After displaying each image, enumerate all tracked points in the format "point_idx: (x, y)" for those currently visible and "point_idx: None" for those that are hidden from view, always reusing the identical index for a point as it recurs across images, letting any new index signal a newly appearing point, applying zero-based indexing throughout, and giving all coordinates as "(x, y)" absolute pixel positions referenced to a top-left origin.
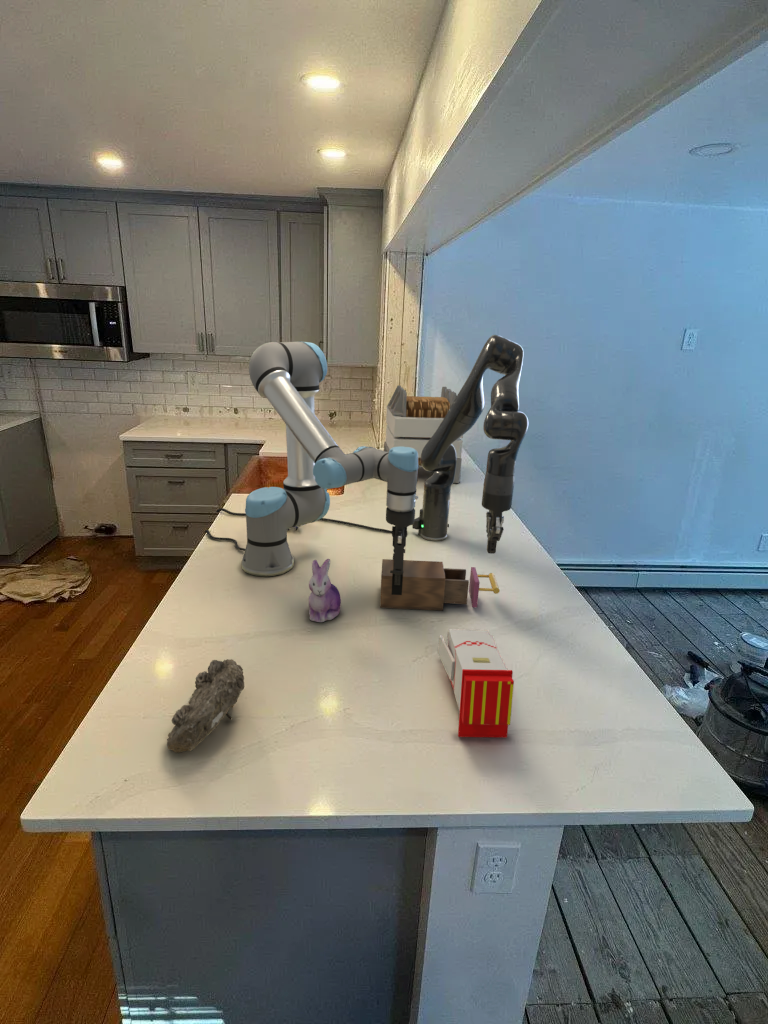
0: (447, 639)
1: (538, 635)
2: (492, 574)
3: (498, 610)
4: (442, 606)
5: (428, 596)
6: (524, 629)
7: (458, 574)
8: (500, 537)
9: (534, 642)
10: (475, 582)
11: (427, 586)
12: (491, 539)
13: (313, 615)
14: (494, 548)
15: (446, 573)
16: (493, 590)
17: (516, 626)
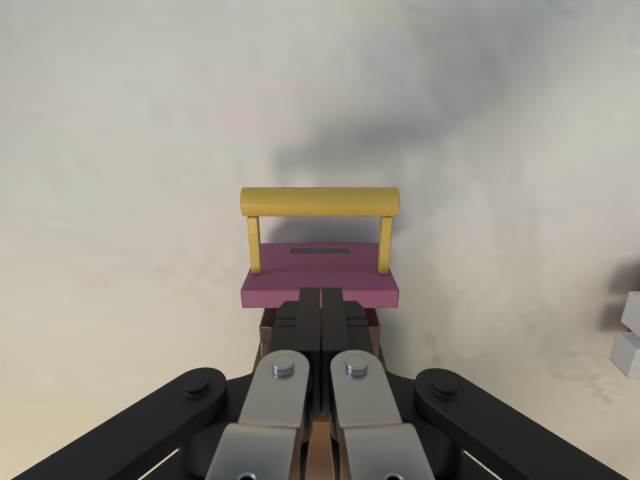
0: (613, 360)
1: (541, 39)
2: (256, 203)
3: (363, 162)
4: (379, 342)
5: None
6: (495, 87)
7: None
8: (540, 427)
9: (583, 68)
10: (397, 305)
11: None
12: (466, 458)
13: None
14: (365, 324)
15: None
16: (395, 215)
17: (473, 114)
